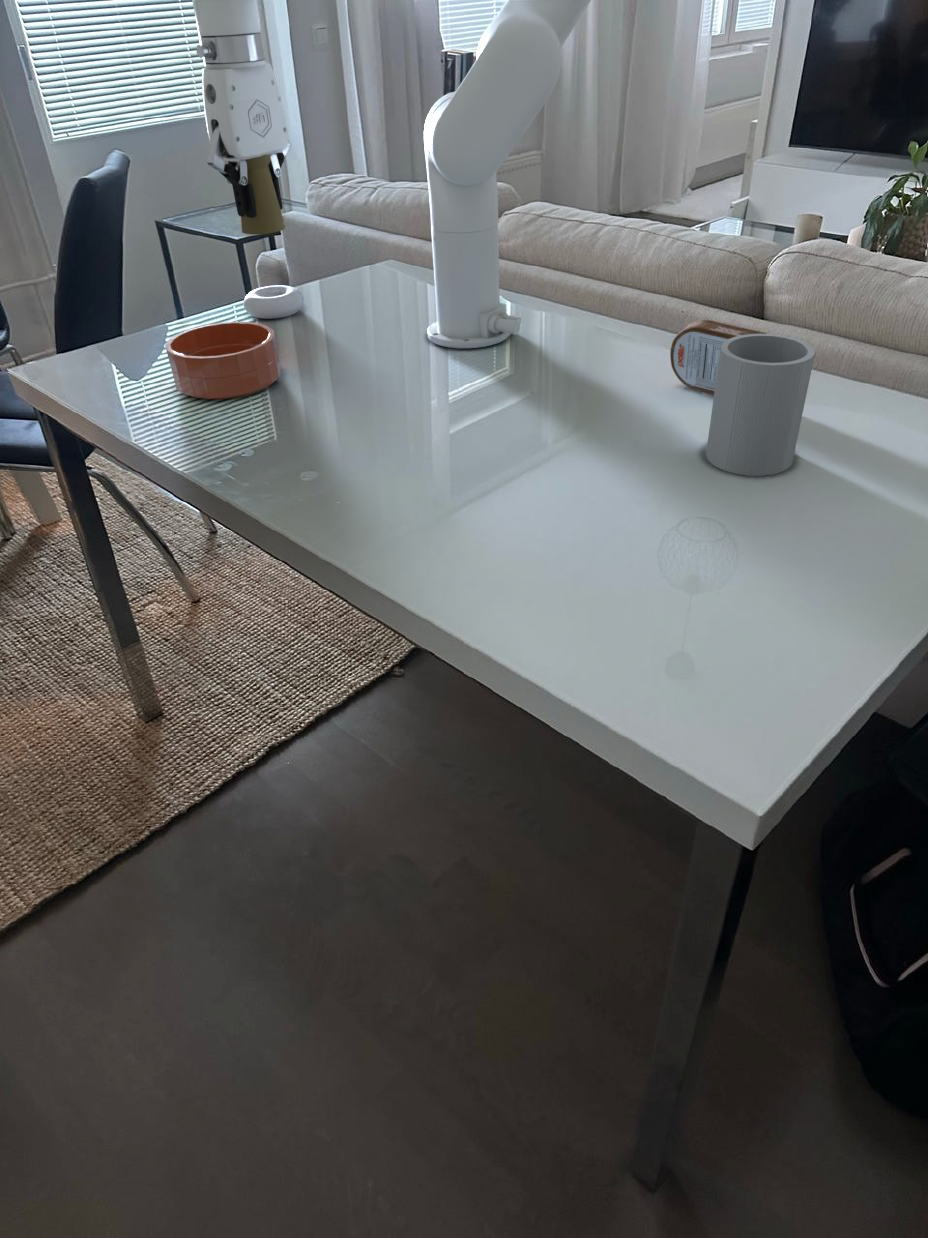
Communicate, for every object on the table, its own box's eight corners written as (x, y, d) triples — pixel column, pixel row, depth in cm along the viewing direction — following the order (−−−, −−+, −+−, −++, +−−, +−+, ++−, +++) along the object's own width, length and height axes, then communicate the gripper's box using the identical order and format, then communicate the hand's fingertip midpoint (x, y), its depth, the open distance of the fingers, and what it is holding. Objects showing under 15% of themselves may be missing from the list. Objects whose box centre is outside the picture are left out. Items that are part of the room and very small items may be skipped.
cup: (689, 455, 95) (702, 348, 87) (741, 431, 99) (758, 327, 92) (757, 484, 89) (777, 372, 81) (809, 457, 93) (833, 348, 86)
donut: (240, 323, 140) (300, 320, 139) (235, 302, 138) (296, 298, 137) (253, 304, 148) (310, 301, 147) (248, 284, 146) (306, 280, 145)
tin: (783, 404, 104) (796, 335, 99) (770, 412, 102) (783, 343, 97) (676, 377, 113) (683, 312, 108) (663, 384, 111) (669, 319, 106)
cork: (293, 224, 119) (279, 135, 113) (271, 235, 115) (255, 142, 108) (256, 223, 121) (240, 135, 114) (232, 233, 117) (215, 142, 110)
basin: (302, 373, 120) (295, 330, 116) (227, 410, 111) (217, 365, 107) (231, 356, 127) (223, 315, 123) (154, 390, 118) (143, 347, 114)
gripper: (201, 58, 98) (233, 228, 109) (302, 46, 109) (322, 202, 120) (159, 58, 102) (195, 223, 113) (261, 47, 113) (284, 198, 124)
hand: (260, 210), depth 116 cm, fingers closed on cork, 4 cm apart
